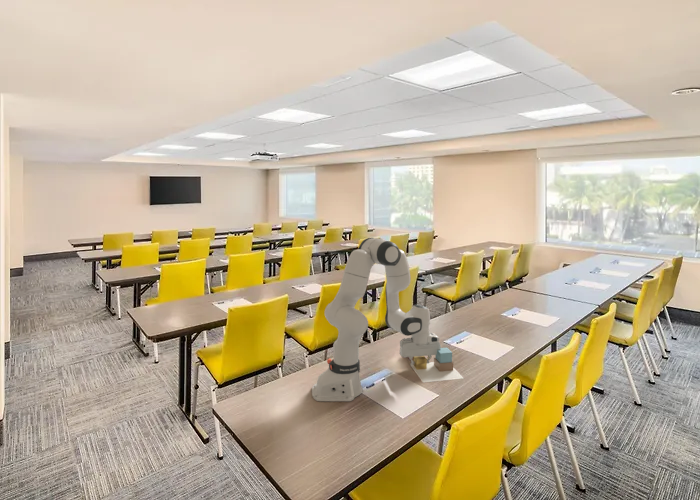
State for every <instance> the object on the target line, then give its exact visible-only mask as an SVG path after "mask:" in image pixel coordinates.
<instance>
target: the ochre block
mask: <svg viewBox="0 0 700 500" xmlns="http://www.w3.org/2000/svg"><path fill="white" fill-rule="evenodd" d="M414 361H415V365H414V367H415V368H416V369H417V370H419V369H427V357H426V356H416V357H414Z"/></svg>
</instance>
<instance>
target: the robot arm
mask: <svg viewBox="0 0 700 500" xmlns="http://www.w3.org/2000/svg"><path fill="white" fill-rule="evenodd" d="M375 264H377V265H383V266H384V269H385V277H386V278H385V279H386V283H385V304H386V310H385V311H386V313H385V318H384V321H385V324H386V326H387V327H388V328H389V329H392V330H394V331H396V332H398V333H400V334H402V335H403V336H406V337H407V336H410V337H407V338H405V337H403V338H402V339H401V340H400V341H399V355H400V356H401V357H402V358H408V357H409V358H410V359H409V358H408V359H409V361H410V360H411V361H410V364H411V365H415V361H414V360H412V359H413V357H416V356H425V357H426V356H427V357H426V359H427V364H428V363H429V362H430V360H431V358H432V356H436V355H437V350H441V348H442V345H441V342H440V337H439V336H438V335H437V334H436V333H434V332H431V331H430V324H431V315H430V309H429V308H428V307H427V306H426V305H424V304H423V305H422V304H417V303H416V304H414V305H412V307H411V308H410V309H409V311H407V312H405V311H403V310H402V309H401V307H400V296H399V293H400V292H403V291H405V290H406V289H407V288H408V287H409V286H410V284H411V271H410V266H409V261H408V258H407V255H406V252H405V251H403V249H400V248H399V246H398V245H397V244H396V243H394V242H393V241H392V240H391V241H390V240H386V239H382V238H377V237H368V238H365V239H364V240H363V239H362V241H361V243H360V244H359V246H358V248H357V249H354V250H353V251H351V253H350V255H349V257H348V259H347V262H346V265H345V268H344V271H343V273H342V274H343V275H342V278H341V283H340V286H339V289H338V291H337V293H336V295H335V296H334V299H332V301H331V302H330V303H329V302H328V304H327V305H326V306H325V309H324V316H325V319H326V321H328V323H329V324H330V325H331V326H333V327H335V328H336V329H337V331H338V336H337V339H336V340H335V341H334V343H333V345H332V348H333V349H332V351H333V352H332V353H333V355H332V356H333V359H332V358H328V359H326V362H327V364H328V368H327V369H326V370H325V371H323V372H322V373H320V374H319V375H318V378H317V380H316V383H314V384H313V385H312V388H311V395H312V398H313V399H314V400H315V401H317V402H352V401H353V400H354V399H355V398H356V397H359V396H360V395H361V394H362V393H363V391H364V390H363V386H362V383H361V378H360V370H361V363H360V359H359V350H360V349H359V346H360V344H359V343H360V340H361V337H362V336H363V335H364V334H365V333H366V332H367V329H368V327H369V320H368V317H366V315H365V314H364V313H363V312H362V311H361V310H359V309H356V308H355V306H356V305H357V304H358V301H359V300H360V299H361V298H363V297H364V296H365V294H366V291H367V286H368V282H369V279H370V274H371V269H372V267H373V266H374V265H375ZM411 365H410V366H411Z"/></svg>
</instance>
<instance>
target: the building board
mask: <svg viewBox="0 0 700 500" xmlns="http://www.w3.org/2000/svg"><path fill="white" fill-rule="evenodd" d="M409 366H410V367H411V368H412V370H413V371H414V372H415V373H416V375H417V377H418V378H419V379H420V380H421V382H422V383H423V384H424V383H431V382H442V381H451V380H461V379H464V377H463V375H461V373H460V372H459V371H458V370H457V369H456V368H454V362H453V361H452V362H448V363H440V362H439V361H438V360H437V359H436V358H435V357H433V361H431V362H430V361H429V363H428V364H427V369H419V370H417V369H416V368H415V367H414V365H411V363H410V364H409Z"/></svg>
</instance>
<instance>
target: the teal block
mask: <svg viewBox="0 0 700 500" xmlns="http://www.w3.org/2000/svg"><path fill="white" fill-rule="evenodd" d="M434 356H435V357H434V358H436V359H437V360H438V361H439V362H440V363H448V362H453V352H452V351H451V350H450V349H449V348H448V347H441V350H437V355H434Z"/></svg>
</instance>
